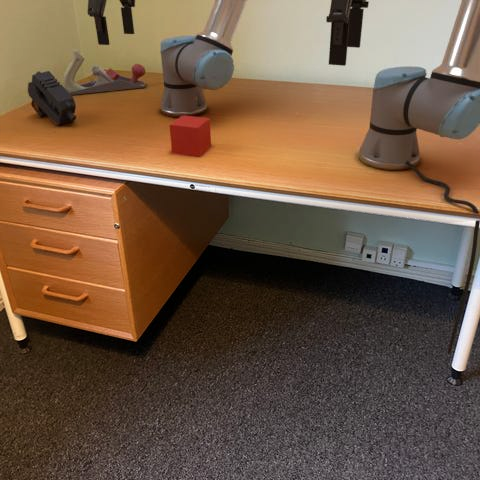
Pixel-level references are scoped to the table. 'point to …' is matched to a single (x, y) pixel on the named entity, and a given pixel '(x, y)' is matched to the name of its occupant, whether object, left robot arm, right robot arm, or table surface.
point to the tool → (51, 98)
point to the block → (190, 135)
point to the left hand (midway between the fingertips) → (117, 39)
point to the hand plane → (100, 78)
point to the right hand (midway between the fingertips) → (345, 55)
